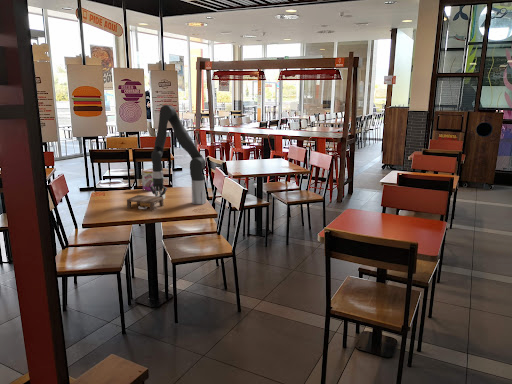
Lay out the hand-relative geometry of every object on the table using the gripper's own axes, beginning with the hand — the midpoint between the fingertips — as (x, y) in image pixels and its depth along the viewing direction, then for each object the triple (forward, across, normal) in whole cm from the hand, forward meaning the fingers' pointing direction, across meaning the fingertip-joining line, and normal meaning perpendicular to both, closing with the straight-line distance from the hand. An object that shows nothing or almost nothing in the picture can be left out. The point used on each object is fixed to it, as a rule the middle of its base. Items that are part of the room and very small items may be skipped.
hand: (159, 199), depth 298 cm
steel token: (+1, 0, +22) cm, 22 cm away
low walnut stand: (+1, 0, +18) cm, 18 cm away
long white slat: (0, 0, +6) cm, 6 cm away
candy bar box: (+1, +24, -27) cm, 37 cm away
